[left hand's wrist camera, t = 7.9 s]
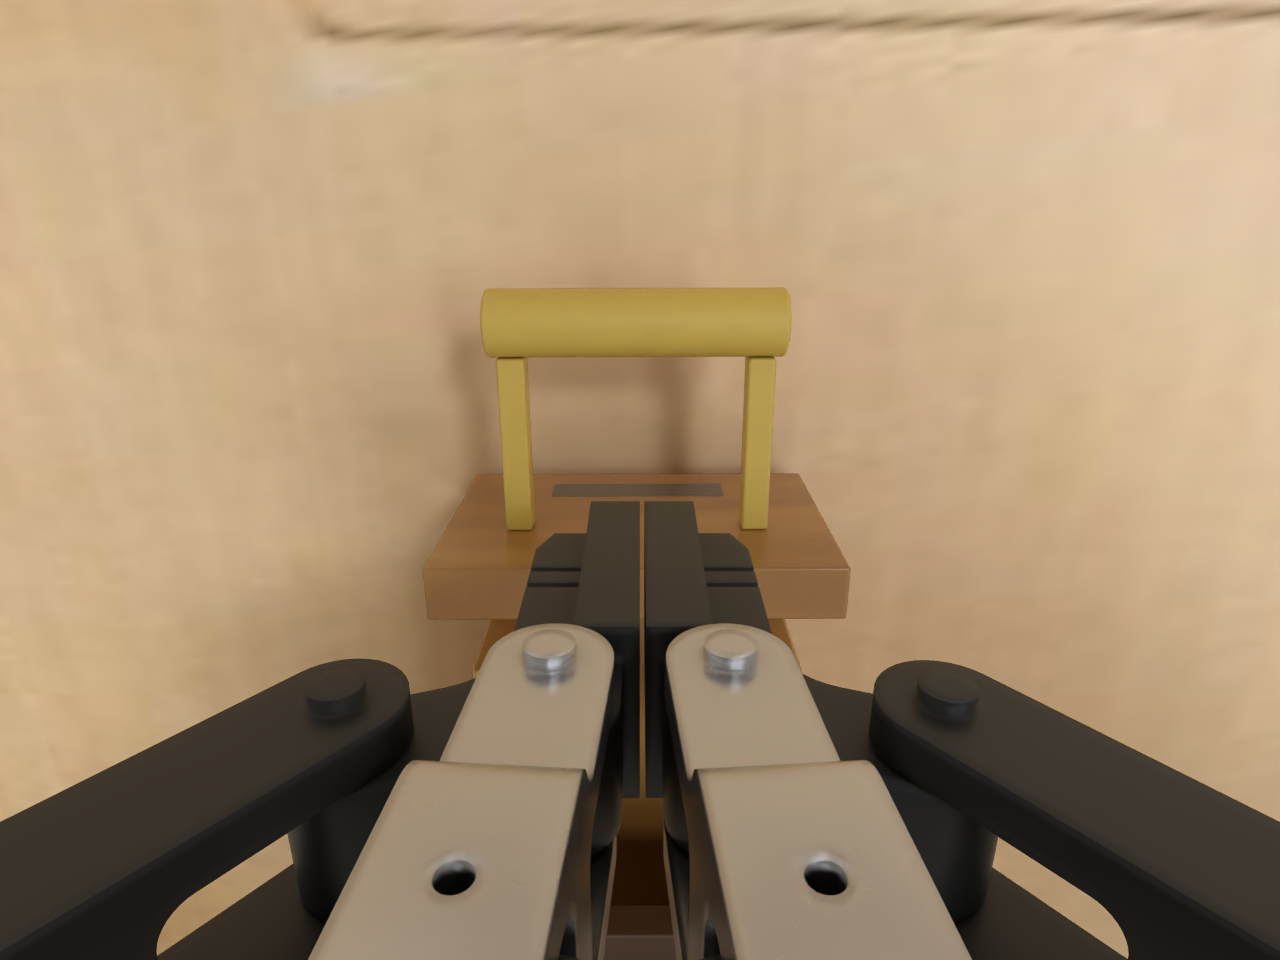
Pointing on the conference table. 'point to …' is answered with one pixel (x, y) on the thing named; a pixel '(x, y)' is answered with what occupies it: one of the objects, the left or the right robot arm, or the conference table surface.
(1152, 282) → the conference table surface
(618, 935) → the cabinet
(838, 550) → the drawer
